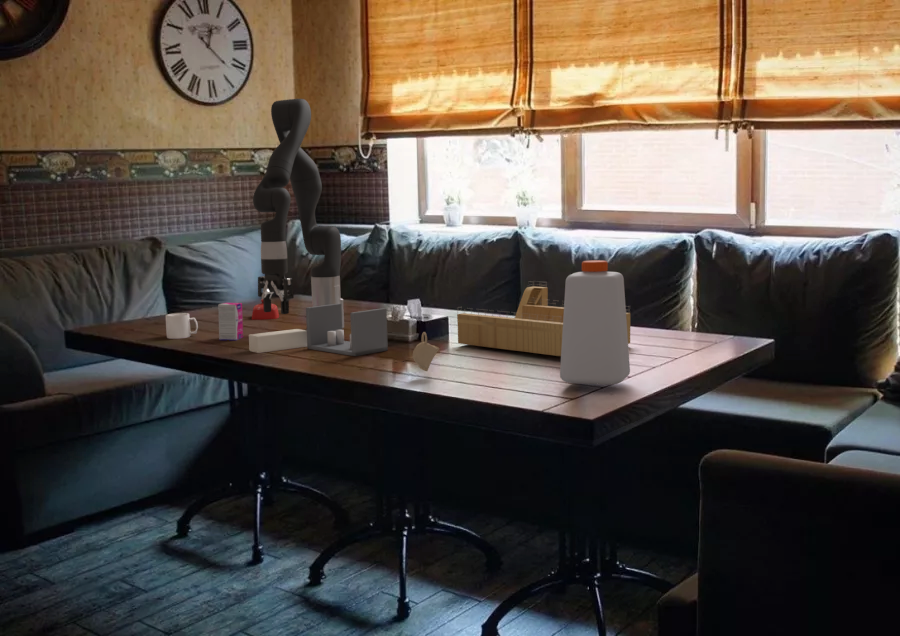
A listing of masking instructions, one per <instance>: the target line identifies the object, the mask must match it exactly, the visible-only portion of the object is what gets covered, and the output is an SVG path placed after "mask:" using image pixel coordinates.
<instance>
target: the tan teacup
mask: <svg viewBox="0 0 900 636" xmlns="http://www.w3.org/2000/svg"><path fill="white" fill-rule="evenodd" d="M439 350H440V347H438V346H437V345H434V344H433V345H432V344H430V343H429V342H428V336H427V333H426V331H423V332H422V334H421V342H419V343H418V344H416V346H414V349H413V352H412V359H413V361H414V362H415V364H416V365H418V367H419V368H420V370H422V371H425V372H428V371H429V369H430V366H431V364H432V361H433V360H434V358H435V356H436V354H437V353H438V351H439Z"/></svg>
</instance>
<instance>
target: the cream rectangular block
mask: <svg viewBox="0 0 900 636" xmlns="http://www.w3.org/2000/svg"><path fill="white" fill-rule="evenodd" d="M248 344H249V345H248V347H249V349H248V351H250V352H253V353H257V354H260V353H261V354H262V353H268V352H270V353H271V352H276V351H286V350H292V349H298V348H299V349H300V348H304V347H305V348H308V347H307V329H301V328H293V329H285V330H278V331H269V332H268V331H267V332H260V333H252V334H248Z"/></svg>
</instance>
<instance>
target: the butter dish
mask: <svg viewBox="0 0 900 636" xmlns="http://www.w3.org/2000/svg"><path fill="white" fill-rule="evenodd" d="M260 302H261V303H258V304H255V305H254V306H253V308H252V314H251V320H252V321H253V320H261V321H262V320H263V321H264V320H276V319H279V317H280V314H279V313H280V312H279V308H278V306H277V305H276V304H275V303H271V312H264V308H263V299H262V298H261V299H260Z"/></svg>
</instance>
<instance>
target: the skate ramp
mask: <svg viewBox="0 0 900 636" xmlns="http://www.w3.org/2000/svg"><path fill="white" fill-rule="evenodd" d="M529 282H530V283H532V284H530V285H532V286H527V287H526V288H525V289H524V291H523V294H522V296H521V299H520V302H519V305H518V308H517V310H516V312H513V311H512V313H513V314H515V315H514V317H511V315H509V314H508V313H509V312H506V316H500V314H501V312H504V313H505V311H502V310H501V311H500V310H498V312H499V313H497V314H496V315H498V316H496V315H495V316H494V315H487V314H490V313H486V314H479V310H483V308H482V309H479V308H477V312H476V311H475V313H477V314H475V313H469V311H467V310H465V312H462V313H459V312H460V310H459V308H461V306H458V307H457V311H456V312H457V313H456V317H457V319H456V320H457V343H458V344H460V345H468V346H477V347H485V348H492V349H501V350H507V351H517V352H525V353H530V354H531V353H533V354H541V355H548V356H556V357H561V349H562V333H563V316H564V306H554V305H555V301H557V302H558V300H555V299H554V302H552V303H551V304H553V306H551V305H548V304H549V299H548V296H549V294H548V293H549V290H548V289H549V288H548V287H547V285H548V284H547V283H548V282H547V281H538V280H537V282H539V284H536V285H537V286H535V280H533V281H531V280H530V281H529ZM542 283H545V284H542ZM538 285H539V286H538ZM627 307H628V309H626V311H629V308H630V305H628V306H627ZM468 309H470V310H472V307H471V308H470V307H469V308H468ZM467 312H468V313H467ZM484 312H487V309H484ZM490 312H493V309H491V310H490ZM508 316H510V317H508ZM626 320H627V335H628V345H629V344H631V312H626Z"/></svg>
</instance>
